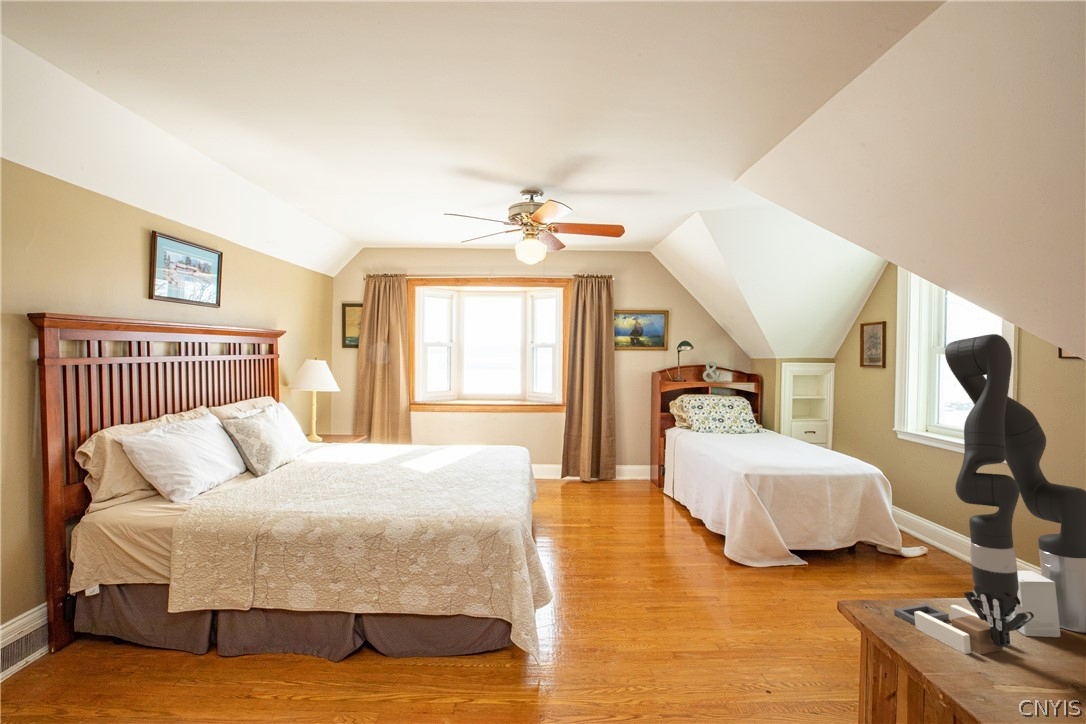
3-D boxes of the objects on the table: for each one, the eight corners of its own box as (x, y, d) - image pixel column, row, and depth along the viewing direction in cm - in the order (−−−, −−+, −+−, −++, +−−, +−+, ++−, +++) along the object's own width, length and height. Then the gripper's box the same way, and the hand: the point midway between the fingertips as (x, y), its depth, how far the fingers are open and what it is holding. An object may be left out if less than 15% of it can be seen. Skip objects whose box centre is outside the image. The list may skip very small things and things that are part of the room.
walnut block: (974, 636, 118) (972, 615, 118) (1002, 650, 112) (1000, 627, 112) (953, 640, 117) (951, 618, 117) (980, 654, 111) (978, 631, 111)
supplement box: (1062, 637, 115) (1056, 582, 116) (1024, 636, 117) (1019, 581, 117) (1037, 622, 123) (1032, 570, 123) (1002, 621, 124) (997, 569, 125)
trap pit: (926, 609, 132) (926, 603, 132) (949, 619, 126) (948, 613, 126) (894, 614, 130) (894, 609, 130) (915, 625, 124) (915, 619, 124)
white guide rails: (956, 621, 125) (955, 604, 126) (1009, 645, 114) (1007, 627, 114) (915, 628, 123) (914, 611, 123) (965, 654, 111) (963, 635, 112)
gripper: (1042, 573, 105) (1050, 658, 104) (976, 553, 118) (982, 628, 117) (1013, 578, 103) (1021, 664, 102) (949, 557, 116) (956, 633, 115)
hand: (1000, 645), depth 110 cm, fingers closed
